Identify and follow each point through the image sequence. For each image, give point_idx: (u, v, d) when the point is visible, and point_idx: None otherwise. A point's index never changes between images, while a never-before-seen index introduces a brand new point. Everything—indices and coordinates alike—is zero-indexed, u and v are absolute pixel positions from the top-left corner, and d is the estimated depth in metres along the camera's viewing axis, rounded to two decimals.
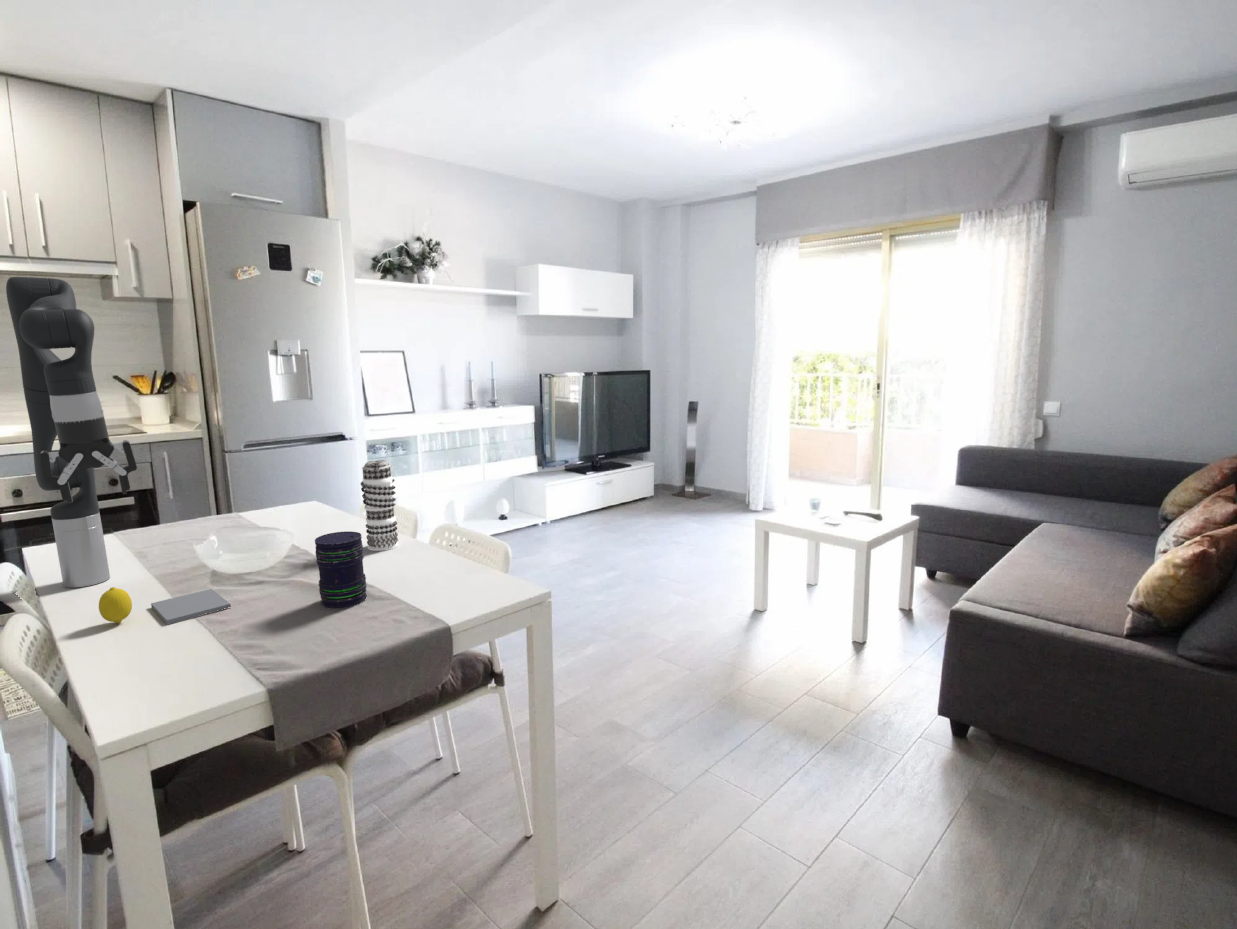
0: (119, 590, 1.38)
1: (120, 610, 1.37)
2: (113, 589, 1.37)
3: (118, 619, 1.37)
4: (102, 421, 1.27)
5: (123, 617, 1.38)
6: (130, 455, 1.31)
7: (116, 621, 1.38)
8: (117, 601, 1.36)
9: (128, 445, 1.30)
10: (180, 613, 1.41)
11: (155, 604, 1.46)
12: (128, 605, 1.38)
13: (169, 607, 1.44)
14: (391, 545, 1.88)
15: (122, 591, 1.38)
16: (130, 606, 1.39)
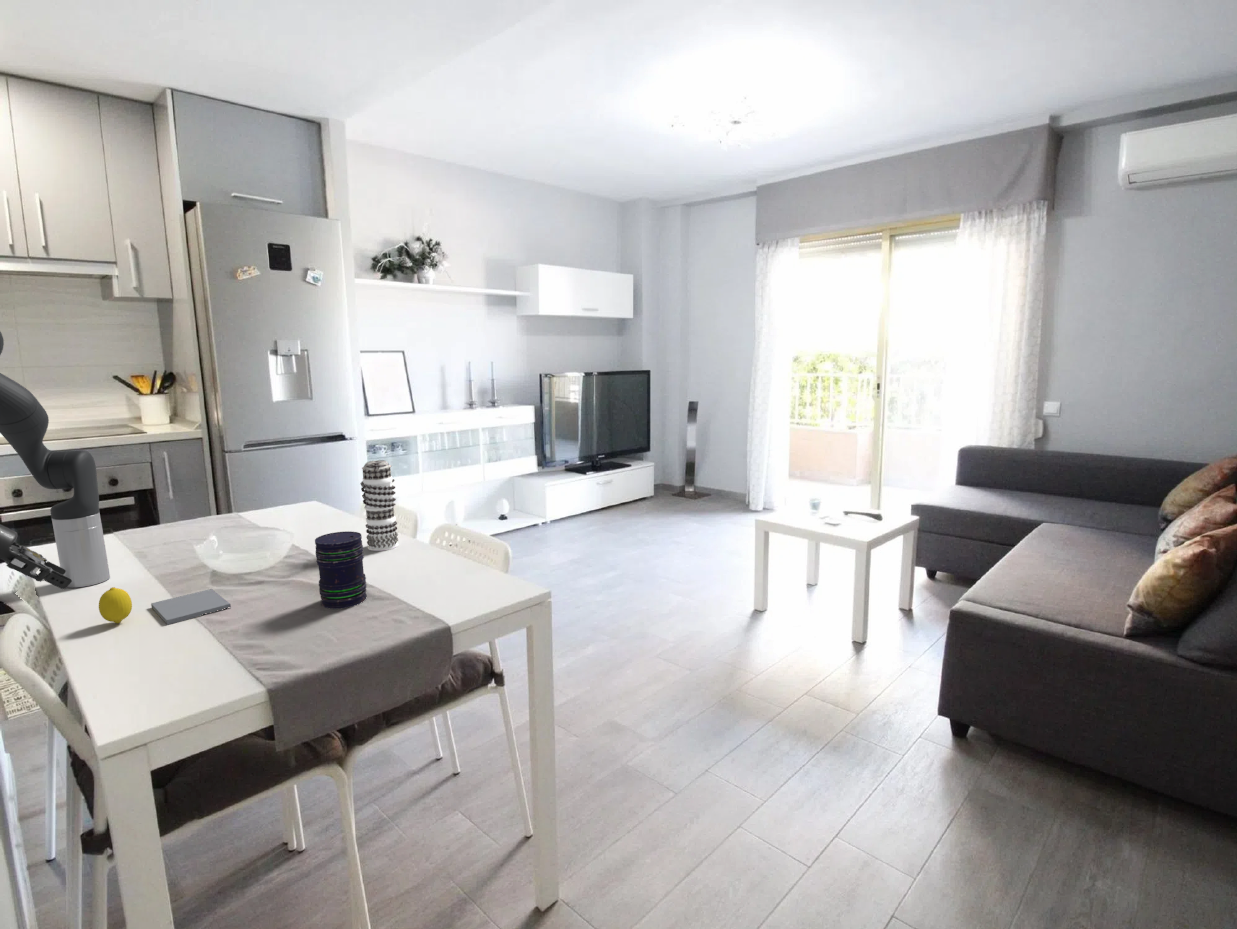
0: (119, 590, 1.38)
1: (120, 610, 1.37)
2: (113, 589, 1.37)
3: (118, 619, 1.37)
4: None
5: (123, 617, 1.38)
6: None
7: (116, 621, 1.38)
8: (117, 601, 1.36)
9: (11, 567, 1.21)
10: (180, 613, 1.41)
11: (155, 604, 1.46)
12: (127, 605, 1.38)
13: (169, 607, 1.44)
14: (391, 545, 1.88)
15: (122, 591, 1.38)
16: (130, 606, 1.39)
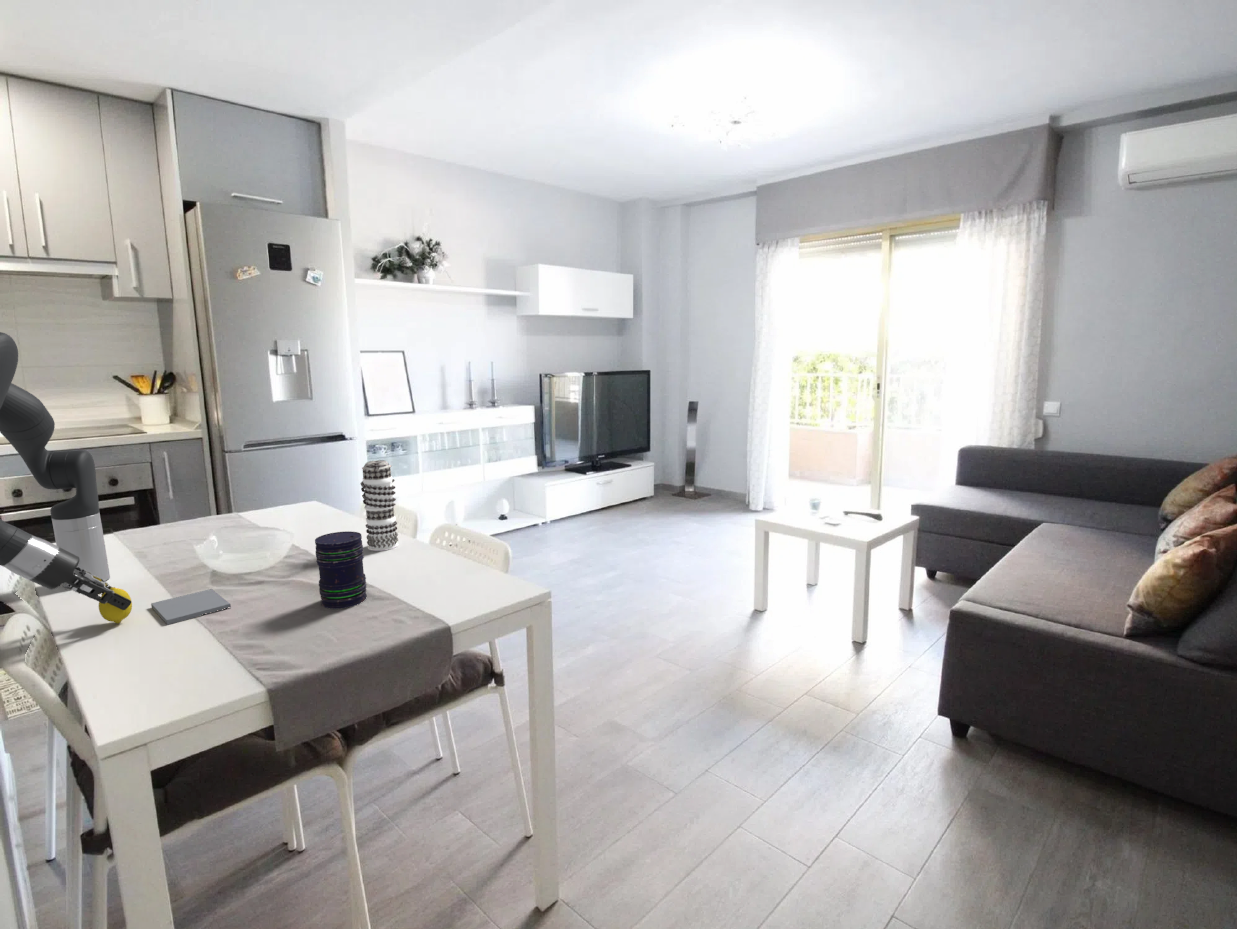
0: (119, 590, 1.38)
1: (120, 610, 1.37)
2: (113, 589, 1.37)
3: (118, 619, 1.37)
4: (43, 575, 1.27)
5: (123, 617, 1.38)
6: (89, 597, 1.30)
7: (116, 621, 1.38)
8: None
9: (80, 593, 1.29)
10: (180, 613, 1.41)
11: (155, 604, 1.46)
12: None
13: (169, 607, 1.44)
14: (391, 545, 1.88)
15: (122, 591, 1.38)
16: (130, 606, 1.39)
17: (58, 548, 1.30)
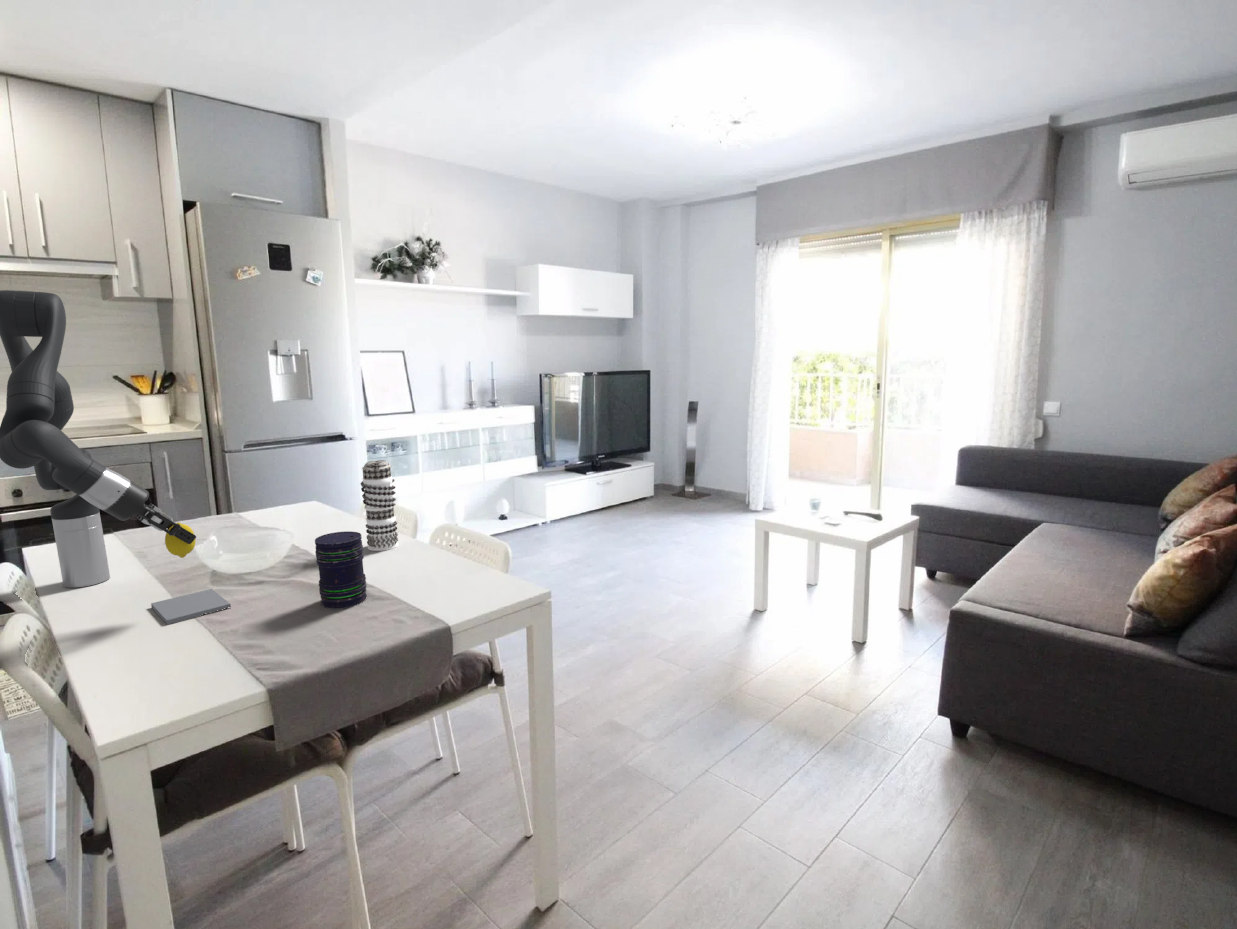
0: (184, 525, 1.43)
1: (185, 544, 1.42)
2: (179, 524, 1.43)
3: (183, 553, 1.43)
4: (117, 506, 1.32)
5: (188, 551, 1.43)
6: (159, 528, 1.36)
7: (181, 555, 1.43)
8: None
9: (151, 523, 1.34)
10: (180, 613, 1.41)
11: (155, 604, 1.46)
12: None
13: (169, 607, 1.44)
14: (391, 545, 1.88)
15: (187, 526, 1.44)
16: (194, 541, 1.45)
17: (130, 481, 1.35)
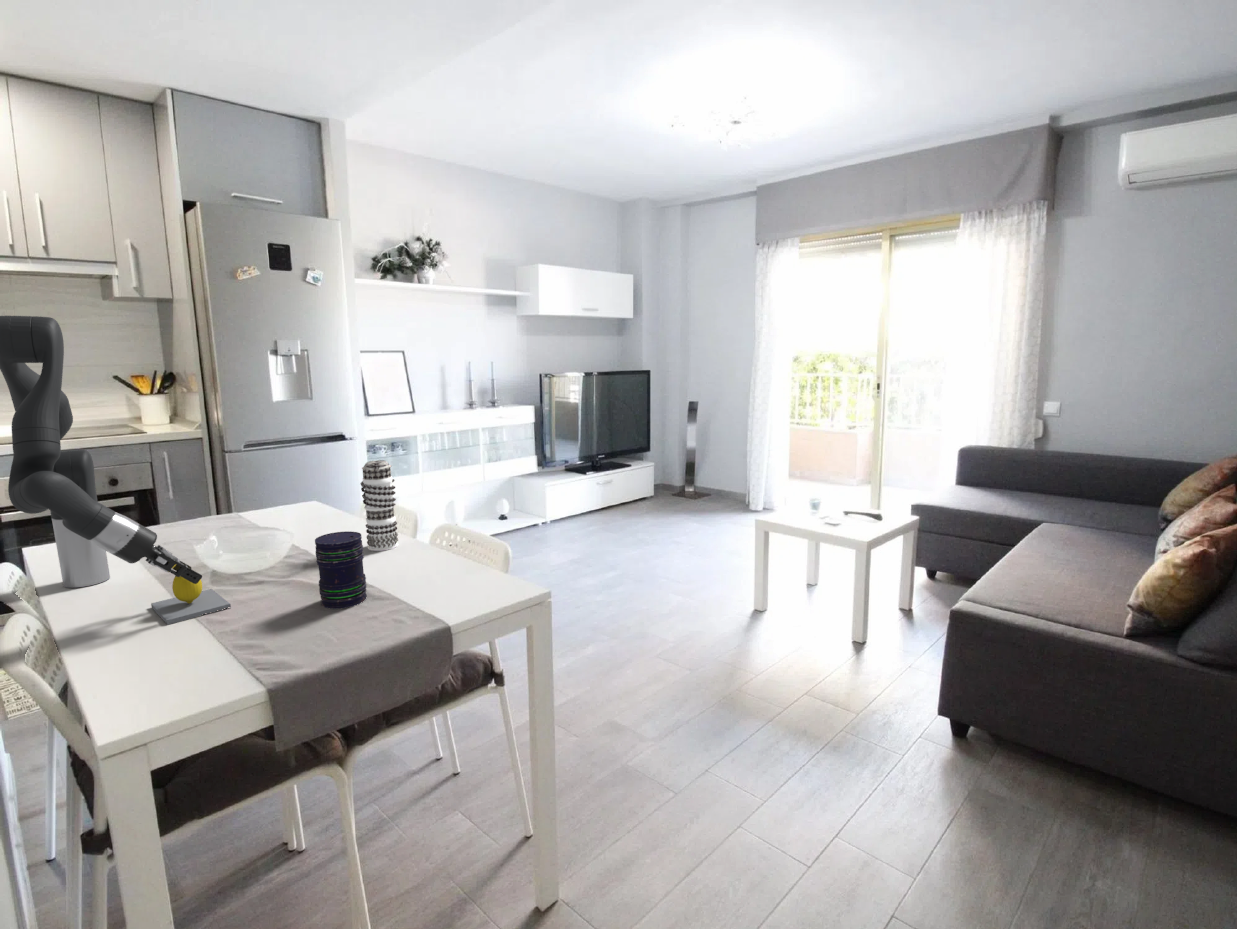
0: None
1: (192, 591, 1.44)
2: None
3: (190, 599, 1.45)
4: (126, 549, 1.34)
5: (195, 597, 1.46)
6: (165, 569, 1.37)
7: (188, 601, 1.45)
8: (189, 582, 1.44)
9: (155, 564, 1.35)
10: (180, 613, 1.41)
11: (155, 604, 1.46)
12: (199, 586, 1.46)
13: (169, 607, 1.44)
14: (391, 545, 1.88)
15: None
16: (201, 587, 1.47)
17: (138, 524, 1.37)
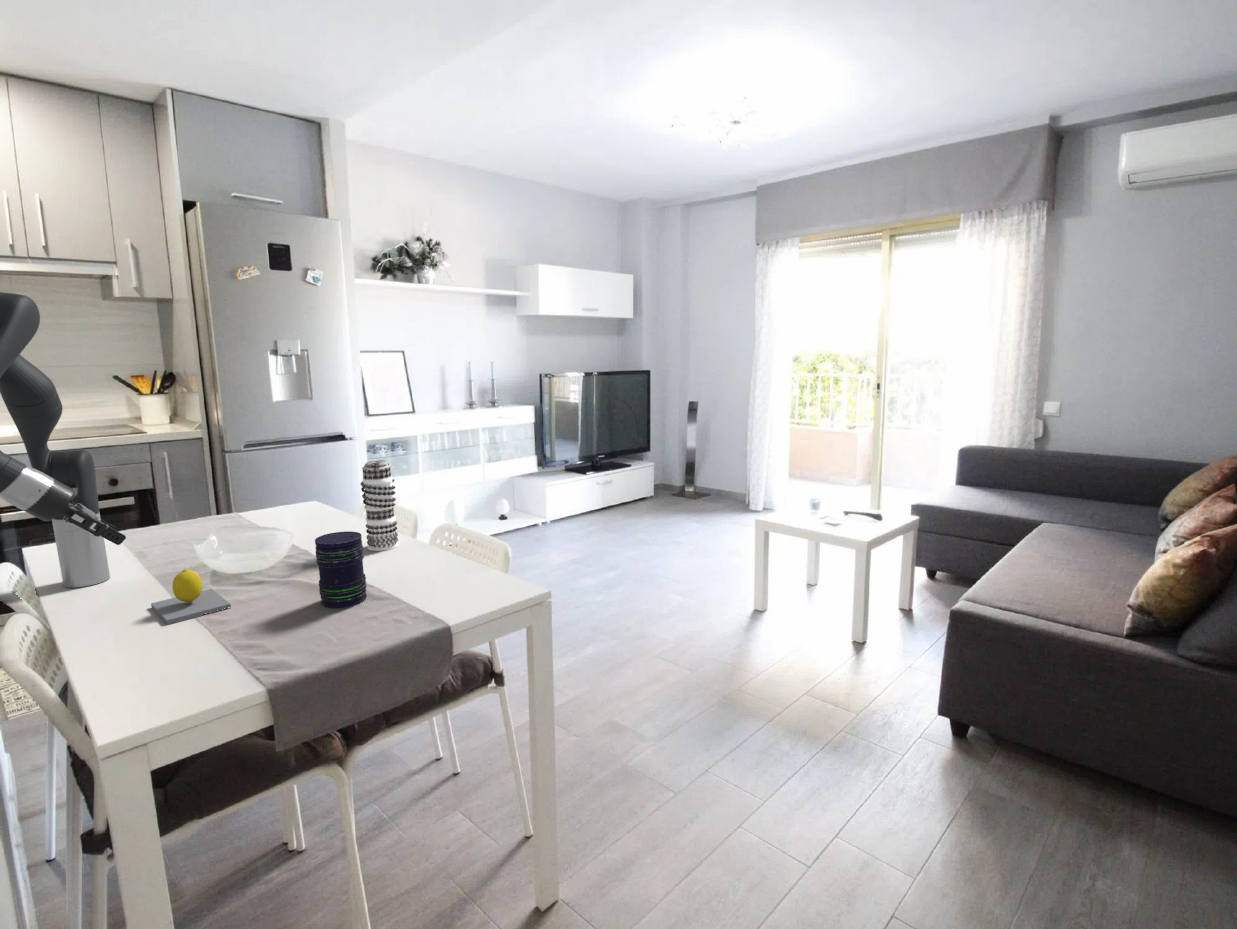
0: (191, 572, 1.46)
1: (192, 591, 1.44)
2: (186, 571, 1.45)
3: (190, 599, 1.45)
4: (38, 506, 1.25)
5: (195, 597, 1.46)
6: (82, 528, 1.28)
7: (188, 601, 1.45)
8: (190, 582, 1.44)
9: (71, 522, 1.26)
10: (180, 613, 1.41)
11: (155, 604, 1.46)
12: (199, 586, 1.46)
13: (169, 607, 1.44)
14: (391, 545, 1.88)
15: (194, 573, 1.46)
16: (201, 587, 1.47)
17: (53, 479, 1.28)
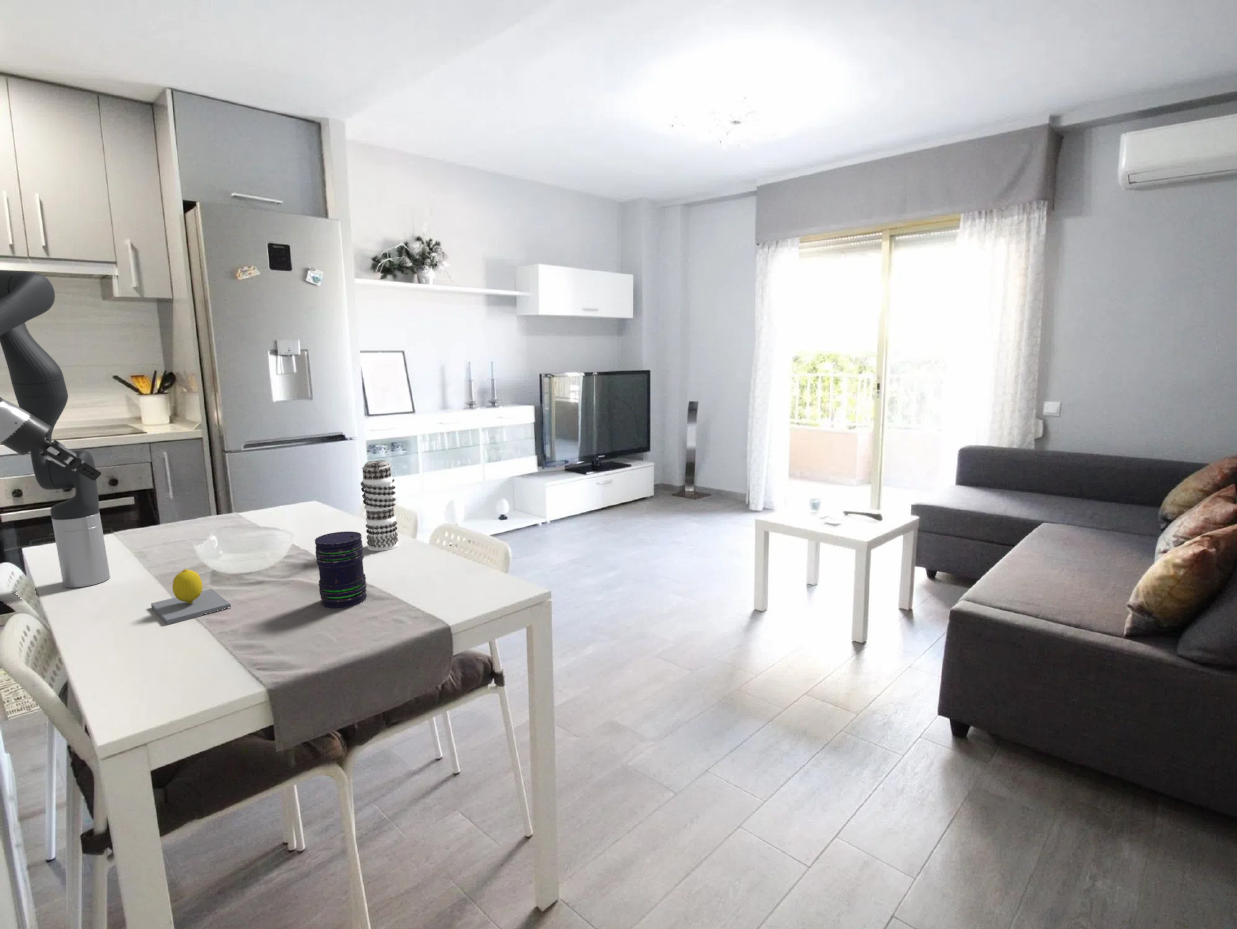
0: (191, 572, 1.46)
1: (192, 591, 1.44)
2: (186, 571, 1.45)
3: (190, 599, 1.45)
4: (14, 438, 1.29)
5: (195, 597, 1.46)
6: (57, 461, 1.32)
7: (188, 601, 1.45)
8: (190, 582, 1.44)
9: (46, 454, 1.30)
10: (180, 613, 1.41)
11: (155, 604, 1.46)
12: (199, 586, 1.46)
13: (169, 607, 1.44)
14: (391, 545, 1.88)
15: (194, 573, 1.46)
16: (201, 587, 1.47)
17: (30, 414, 1.32)
